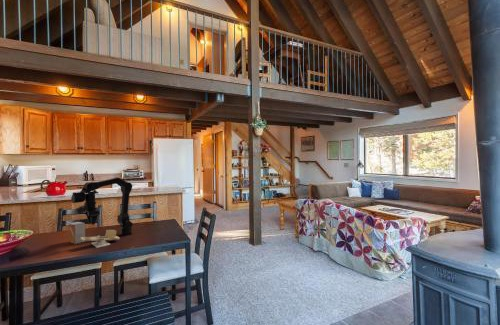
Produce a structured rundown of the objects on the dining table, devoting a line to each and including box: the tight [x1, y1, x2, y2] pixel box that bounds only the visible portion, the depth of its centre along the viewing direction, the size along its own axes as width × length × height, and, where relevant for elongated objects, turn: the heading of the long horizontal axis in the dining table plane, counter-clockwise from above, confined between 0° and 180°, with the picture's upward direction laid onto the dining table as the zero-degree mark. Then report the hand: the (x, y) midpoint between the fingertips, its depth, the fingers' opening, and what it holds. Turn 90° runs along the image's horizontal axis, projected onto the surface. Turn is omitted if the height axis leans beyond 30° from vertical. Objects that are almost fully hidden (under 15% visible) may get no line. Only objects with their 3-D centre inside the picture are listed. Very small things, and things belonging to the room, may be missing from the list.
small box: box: [68, 221, 86, 245], centre depth 173 cm, size 8×6×13 cm
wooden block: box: [104, 229, 118, 238], centre depth 172 cm, size 5×5×4 cm
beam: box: [80, 235, 120, 242], centre depth 168 cm, size 22×7×1 cm, turn 137°
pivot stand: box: [91, 234, 111, 249], centre depth 168 cm, size 8×12×5 cm, turn 46°
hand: (91, 223), depth 171 cm, fingers open, 9 cm apart
